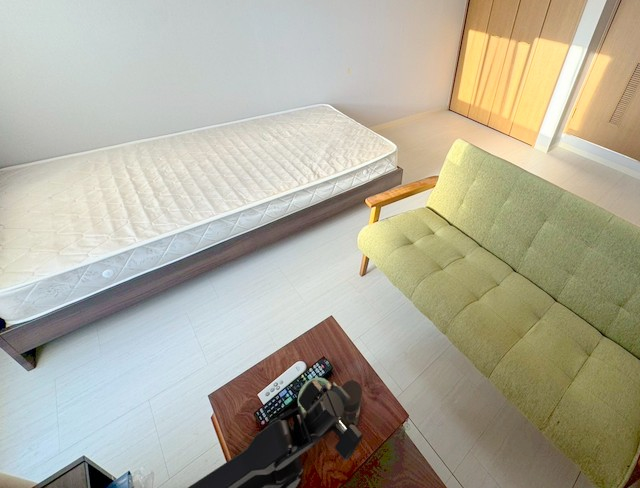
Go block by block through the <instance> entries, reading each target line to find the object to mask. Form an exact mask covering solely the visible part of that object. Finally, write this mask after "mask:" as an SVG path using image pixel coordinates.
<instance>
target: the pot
mask: <svg viewBox="0 0 640 488" xmlns="http://www.w3.org/2000/svg"><path fill="white" fill-rule="evenodd" d="M313 380H317V381H318V383H320V384H321V385H322V386H323V385H325V384H326V383H328V382H329V380H327V379H326V378H324V377H313V378H310V379H308V381H306V382H305V383H304V384H303V385H302V386H301V388H300V390H299V392H298V395H297V407H299V406H301V404H300V403H299V397H300V395H301V394H302V392H303V390H304V389H305V387H306V386H307V384H308V383H309V382H310V381H313ZM301 409H302V412H303V413H304V412H306V411H305V409H304V408H303V407H302V406H301Z"/></svg>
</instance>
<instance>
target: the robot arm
mask: <svg viewBox="0 0 640 488" xmlns="http://www.w3.org/2000/svg"><path fill="white" fill-rule="evenodd" d="M349 402H350V396H349V395H348V394H347V393H346V392H345V391H344V389H343V388H342V386H341V385H337V383H335V381H332V383H331V382H330V381H328V383H326V384H325V385H323V386H322V385H321V384H320V383H318V381H317V380H313V381H310V382H309V383H308V384H307V386H306V387H305V389H304V390H303V392H302V394H301V395H300V397H299V403H300V404H301V406H302V407H303V408H304V409H305V411H306V412H304V413H303V412H302V409H301V406H299V407H298V406H297V407H295V408H288V410H287V409H286V411H284V412H282V413H281V414H279V415H278V416H276V417H275V418H273V419H272V420H270V421H269V423H267V424H266V426H265V427H264V429H262V430H261V431H259V432H258V433H256V435H254V437H253V439H252V440H251V441H250V443H249V444H248V446H247V448H245V449H244V450H243V451H241V452H240V453H238V454H237V455H236V456H234V457H233V458H231V459H229V460H228V461H226V462H225V463H223V464H222V465H220V466H219V467H217V468H216V469H214V470H212V471H211V472H209V473H208V474H206V475H204V476H203V477H201V478H200V479H199V480H197V481H196V482H194V483H193V484H191V485H189V486H188V487H187V488H297V487H298V486H299V484H300V483H301V481H302V479H301V475H302V474H303V472H304V471H305V470H304V467H303V463H302V460H301V455H303V454H304V453H306V452H307V451H308V450H309V449H311V448H312V447H313V448H315V447H316V446H317V445H318V444H319V442H320V441H321V440H322V439H323V440H326V439H327V438H328V436H329V434H331V433H332V432H333V433H334V434H335V435H336V437H337V438H338V441H337V442H336V444H335V446H334V449H335V451H336V452H337V453H338V454H339V456H340V457H341V458H342V460H343V461H344V462H345V461H349V460H350V458H352V456H353V454H354V453H355V451H356V449H357V448H358V446H359V445H360V443H361V441H362V440H363V433H362V432H361V430H360V428H359V427H358V423H359V420H360V417H358V418H356V419H355V420H354V422H352V423H351V424H350V425H347V427H346V426H345V424H344V423H343V422H342V421H341V417H340V416H341V415H342V414H343V411H344V409H345V407H346V406H347V405H348V404H349ZM290 419H292V422H293V424H292V425H291V423H290Z"/></svg>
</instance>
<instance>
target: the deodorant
mask: <svg viewBox="0 0 640 488" xmlns="http://www.w3.org/2000/svg"><path fill="white" fill-rule="evenodd" d="M341 387H342V388H343V389H344V391H345V392H346V393H347V394H348V395H349V396H350V402H349V404H348V405H347V406H346V407H345V409H344V411H343V414H342V415H341V416H340V417H341V419H340V421H341V423H342V424H343V425H347V426H349V425H351V423H352V422H354V420H355V419H356V418H360V417H359V416H360V411H361V404H362V397H363V389H362V386H361V384H360V383H359V382H358V381H356V380H353V379H351V380H347V381H345V382H344V383H343V384H342V386H341Z"/></svg>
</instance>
